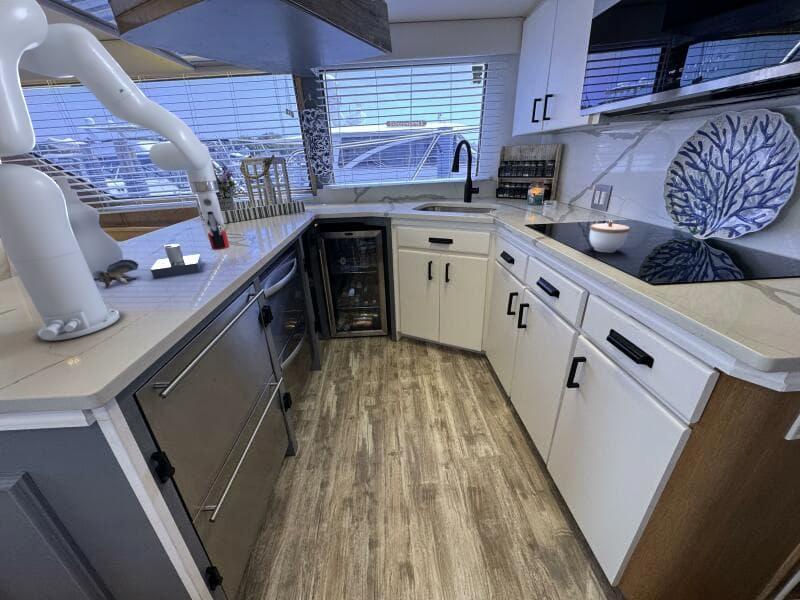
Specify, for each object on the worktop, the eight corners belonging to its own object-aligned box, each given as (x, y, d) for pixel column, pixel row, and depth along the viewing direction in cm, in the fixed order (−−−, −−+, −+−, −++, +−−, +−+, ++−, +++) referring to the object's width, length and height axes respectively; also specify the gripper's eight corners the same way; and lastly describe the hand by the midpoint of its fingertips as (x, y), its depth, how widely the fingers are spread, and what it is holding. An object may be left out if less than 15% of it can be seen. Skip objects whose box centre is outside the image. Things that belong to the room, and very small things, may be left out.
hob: (199, 272, 100) (196, 262, 99) (154, 279, 96) (150, 269, 94) (202, 262, 110) (199, 253, 109) (160, 268, 106) (157, 259, 104)
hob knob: (184, 258, 104) (179, 242, 102) (183, 261, 101) (177, 245, 99) (170, 260, 103) (165, 244, 101) (168, 263, 99) (162, 247, 97)
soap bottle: (99, 283, 94) (53, 176, 83) (59, 285, 94) (6, 178, 82) (139, 266, 110) (104, 174, 98) (104, 267, 109) (65, 175, 98)
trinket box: (631, 253, 100) (639, 223, 97) (596, 254, 101) (603, 224, 97) (611, 245, 110) (618, 217, 106) (580, 246, 111) (585, 219, 107)
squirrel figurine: (123, 284, 89) (146, 268, 96) (97, 265, 86) (124, 250, 93) (110, 297, 91) (134, 281, 99) (85, 279, 88) (112, 263, 96)
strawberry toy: (229, 248, 105) (224, 230, 103) (211, 250, 103) (206, 232, 101) (229, 245, 109) (224, 227, 107) (212, 247, 107) (207, 229, 105)
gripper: (217, 188, 93) (233, 249, 100) (218, 185, 107) (232, 239, 114) (187, 190, 90) (206, 253, 97) (192, 187, 104) (208, 242, 112)
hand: (220, 245), depth 106 cm, fingers closed on strawberry toy, 5 cm apart
